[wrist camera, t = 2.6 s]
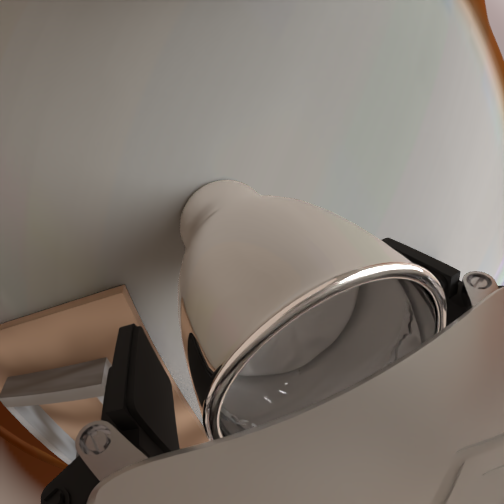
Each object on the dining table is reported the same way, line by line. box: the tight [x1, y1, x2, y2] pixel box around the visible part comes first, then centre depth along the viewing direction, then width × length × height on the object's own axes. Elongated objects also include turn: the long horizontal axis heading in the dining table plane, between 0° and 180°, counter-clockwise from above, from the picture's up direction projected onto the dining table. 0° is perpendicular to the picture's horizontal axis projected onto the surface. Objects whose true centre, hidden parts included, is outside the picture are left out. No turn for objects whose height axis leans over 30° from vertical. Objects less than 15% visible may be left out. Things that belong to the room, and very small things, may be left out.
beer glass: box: [178, 180, 447, 441], centre depth 12 cm, size 7×7×15 cm
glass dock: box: [0, 285, 209, 465], centre depth 19 cm, size 22×20×4 cm
